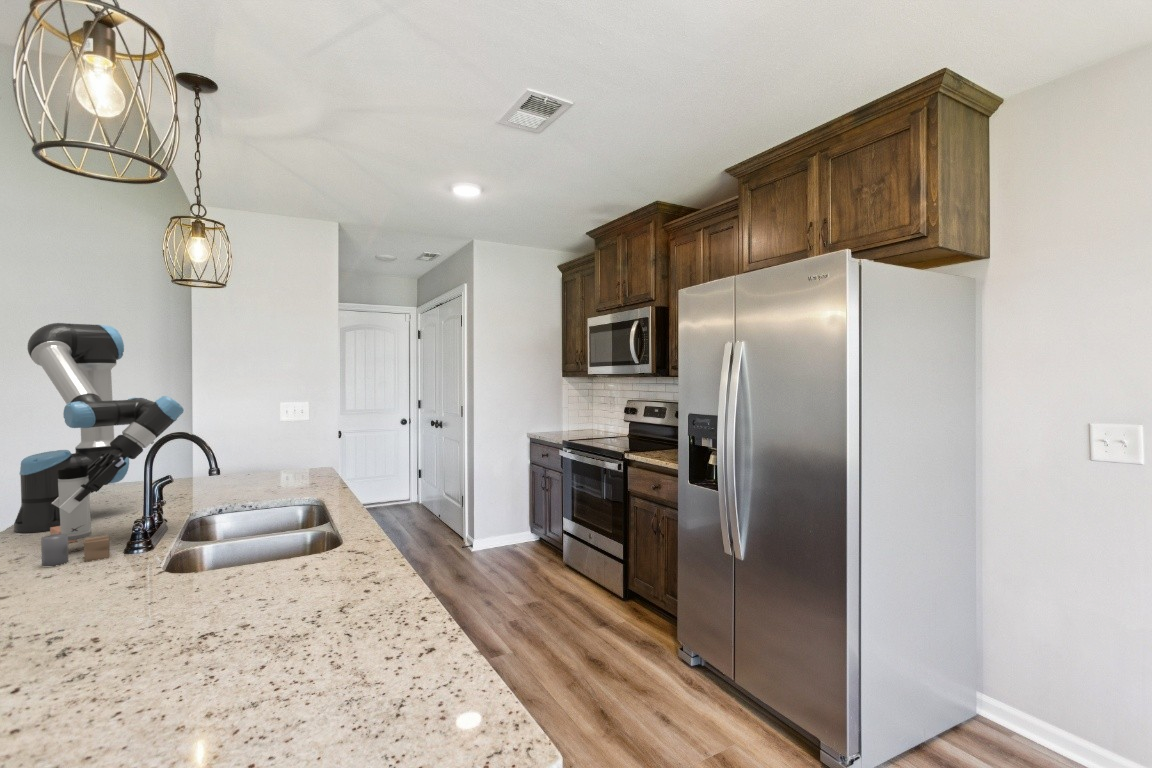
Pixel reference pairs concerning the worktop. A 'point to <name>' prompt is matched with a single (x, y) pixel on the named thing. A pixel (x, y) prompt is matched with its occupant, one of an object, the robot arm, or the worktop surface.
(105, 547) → the walnut block
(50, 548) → the grey cylinder
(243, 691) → the worktop surface
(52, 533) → the terracotta brick
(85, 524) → the travel mug
